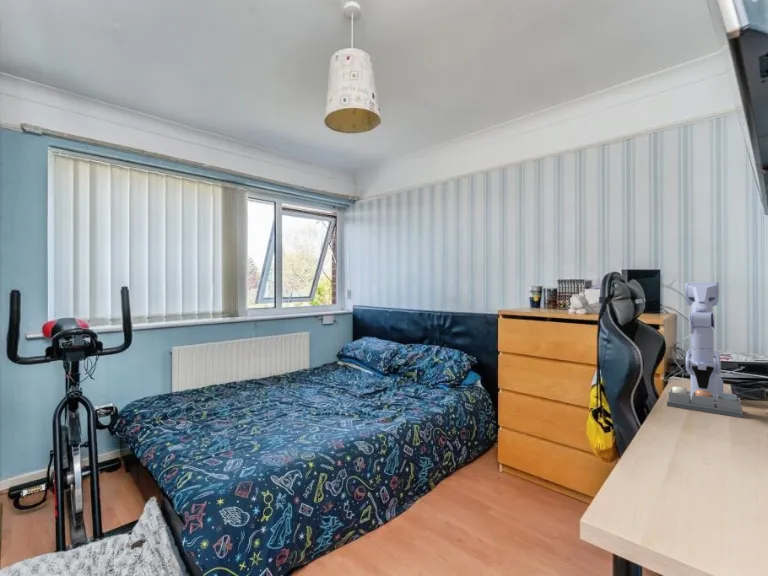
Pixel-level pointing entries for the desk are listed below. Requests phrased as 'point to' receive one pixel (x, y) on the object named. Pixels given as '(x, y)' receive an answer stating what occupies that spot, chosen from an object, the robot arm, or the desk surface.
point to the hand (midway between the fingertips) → (703, 388)
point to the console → (705, 404)
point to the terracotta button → (703, 393)
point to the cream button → (679, 390)
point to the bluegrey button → (728, 396)
